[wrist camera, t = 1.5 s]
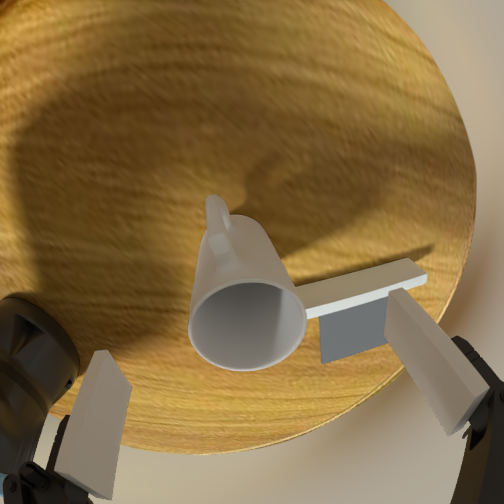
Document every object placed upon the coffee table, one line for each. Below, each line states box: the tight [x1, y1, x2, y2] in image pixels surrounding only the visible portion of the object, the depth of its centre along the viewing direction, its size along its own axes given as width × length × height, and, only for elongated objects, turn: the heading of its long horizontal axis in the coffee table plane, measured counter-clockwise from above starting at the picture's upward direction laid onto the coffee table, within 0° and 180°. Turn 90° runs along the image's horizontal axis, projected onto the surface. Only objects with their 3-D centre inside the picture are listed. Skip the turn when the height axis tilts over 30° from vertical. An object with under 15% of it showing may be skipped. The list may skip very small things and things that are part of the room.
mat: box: [319, 296, 388, 364], centre depth 32 cm, size 11×11×1 cm
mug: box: [188, 194, 307, 371], centre depth 20 cm, size 10×7×12 cm, turn 16°
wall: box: [295, 257, 428, 319], centre depth 27 cm, size 22×1×4 cm, turn 101°
